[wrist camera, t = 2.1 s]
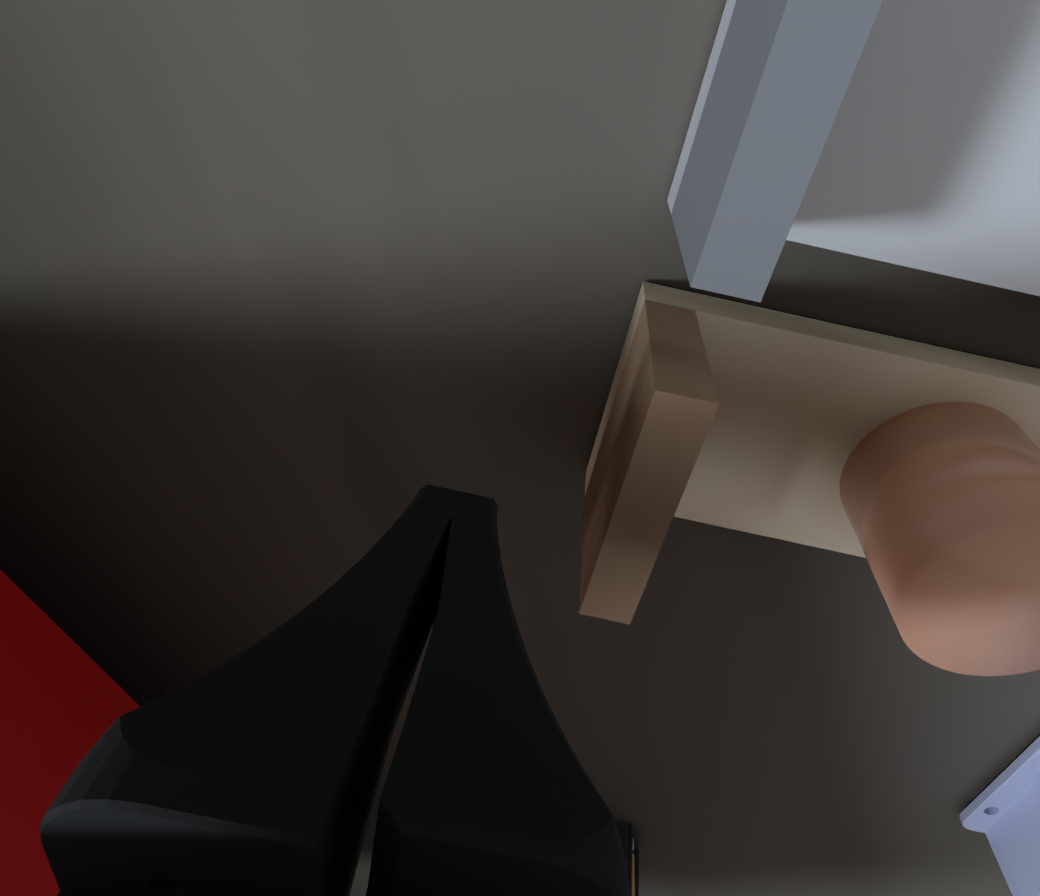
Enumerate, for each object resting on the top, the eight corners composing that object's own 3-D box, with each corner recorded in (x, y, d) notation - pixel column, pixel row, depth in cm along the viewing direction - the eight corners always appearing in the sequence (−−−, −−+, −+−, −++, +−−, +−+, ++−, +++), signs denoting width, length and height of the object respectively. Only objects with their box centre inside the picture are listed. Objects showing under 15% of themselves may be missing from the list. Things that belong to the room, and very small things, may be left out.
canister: (968, 557, 20) (1053, 693, 16) (811, 523, 20) (859, 651, 16) (1069, 424, 17) (1197, 546, 13) (889, 383, 17) (967, 496, 13)
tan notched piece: (978, 557, 21) (1083, 721, 16) (585, 472, 21) (578, 613, 16) (1109, 384, 18) (1289, 528, 13) (642, 281, 17) (655, 390, 13)
